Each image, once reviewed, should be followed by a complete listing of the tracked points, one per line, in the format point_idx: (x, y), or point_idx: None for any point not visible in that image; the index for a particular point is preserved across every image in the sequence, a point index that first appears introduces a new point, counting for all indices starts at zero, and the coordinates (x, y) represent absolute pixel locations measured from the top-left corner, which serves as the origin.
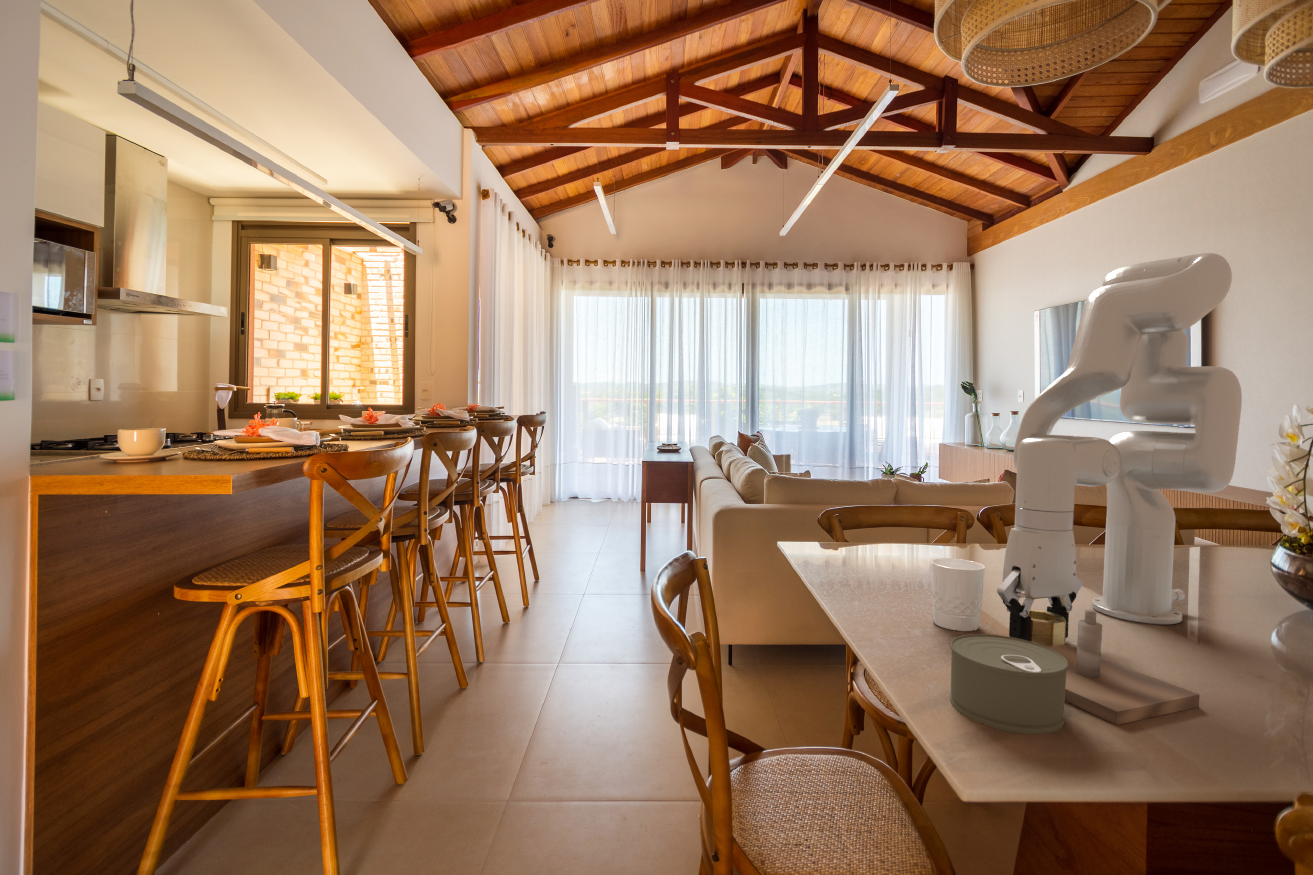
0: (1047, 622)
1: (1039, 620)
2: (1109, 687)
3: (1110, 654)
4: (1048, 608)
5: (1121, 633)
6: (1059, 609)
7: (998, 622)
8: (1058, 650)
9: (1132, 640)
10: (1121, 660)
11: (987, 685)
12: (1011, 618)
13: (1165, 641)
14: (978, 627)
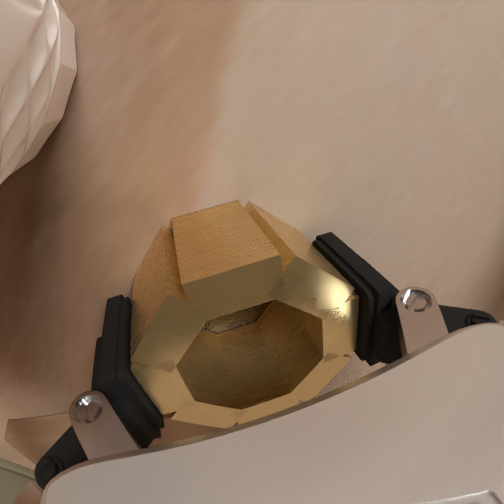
0: (222, 424)
1: (203, 413)
2: None
3: (350, 354)
4: (369, 301)
5: (489, 217)
6: (376, 346)
7: (225, 37)
8: (181, 431)
9: (468, 261)
10: (337, 380)
11: None
12: (93, 386)
13: (497, 264)
14: (57, 124)
